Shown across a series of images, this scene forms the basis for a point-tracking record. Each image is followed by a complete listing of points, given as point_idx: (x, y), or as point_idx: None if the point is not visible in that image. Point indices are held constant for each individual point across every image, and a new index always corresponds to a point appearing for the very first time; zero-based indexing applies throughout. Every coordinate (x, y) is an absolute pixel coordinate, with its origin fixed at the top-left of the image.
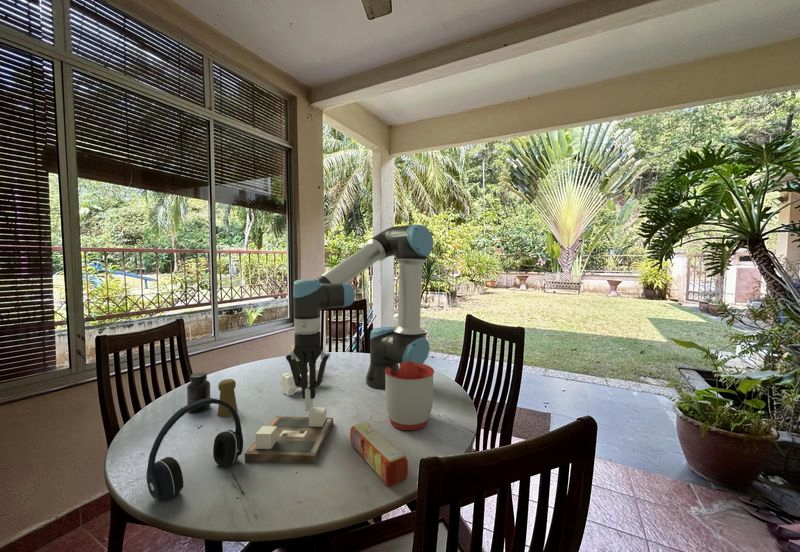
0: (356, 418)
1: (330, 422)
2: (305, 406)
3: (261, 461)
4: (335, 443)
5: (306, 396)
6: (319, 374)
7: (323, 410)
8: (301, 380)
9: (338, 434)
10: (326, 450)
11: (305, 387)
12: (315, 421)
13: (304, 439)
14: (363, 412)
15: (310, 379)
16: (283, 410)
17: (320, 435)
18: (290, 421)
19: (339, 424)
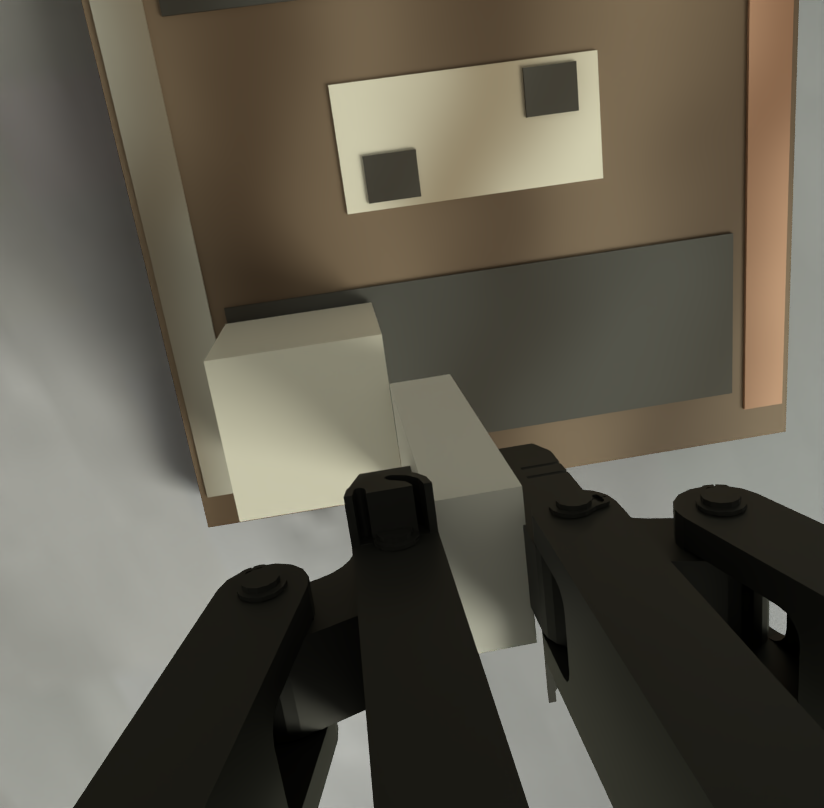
0: (44, 640)
1: (191, 435)
2: (456, 387)
3: None
4: (20, 167)
5: (467, 440)
6: (165, 790)
7: (230, 440)
8: (668, 572)
9: (75, 333)
10: (45, 20)
11: (534, 533)
12: (300, 325)
13: (299, 40)
14: (31, 751)
15: (444, 632)
16: (774, 618)
17: (160, 147)
18: (607, 364)
19: (155, 506)
